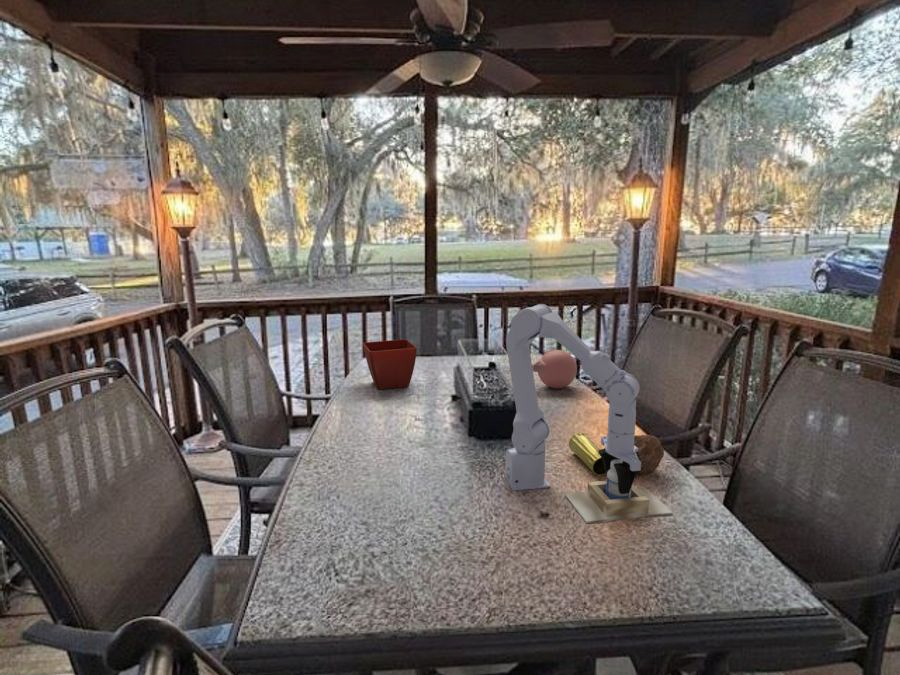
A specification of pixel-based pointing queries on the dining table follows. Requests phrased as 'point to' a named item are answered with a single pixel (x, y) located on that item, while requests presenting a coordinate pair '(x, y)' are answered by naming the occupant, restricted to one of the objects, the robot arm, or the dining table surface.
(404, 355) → the plant pot
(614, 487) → the pill bottle
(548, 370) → the balloon
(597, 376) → the robot arm
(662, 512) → the socket block
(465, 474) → the dining table surface
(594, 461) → the vase
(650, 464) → the decorative rock
